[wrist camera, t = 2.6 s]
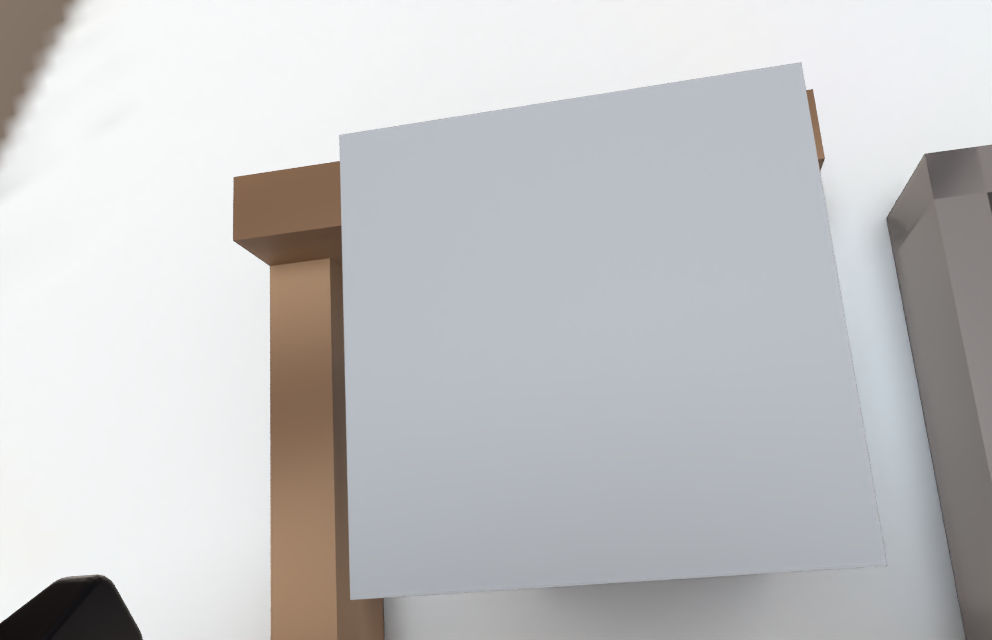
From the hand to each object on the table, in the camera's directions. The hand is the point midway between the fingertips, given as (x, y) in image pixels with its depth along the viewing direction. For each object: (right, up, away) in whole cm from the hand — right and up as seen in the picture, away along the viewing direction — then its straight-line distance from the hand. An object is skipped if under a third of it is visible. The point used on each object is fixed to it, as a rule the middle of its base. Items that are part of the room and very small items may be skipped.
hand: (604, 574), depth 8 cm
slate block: (+2, 0, +10) cm, 10 cm away
